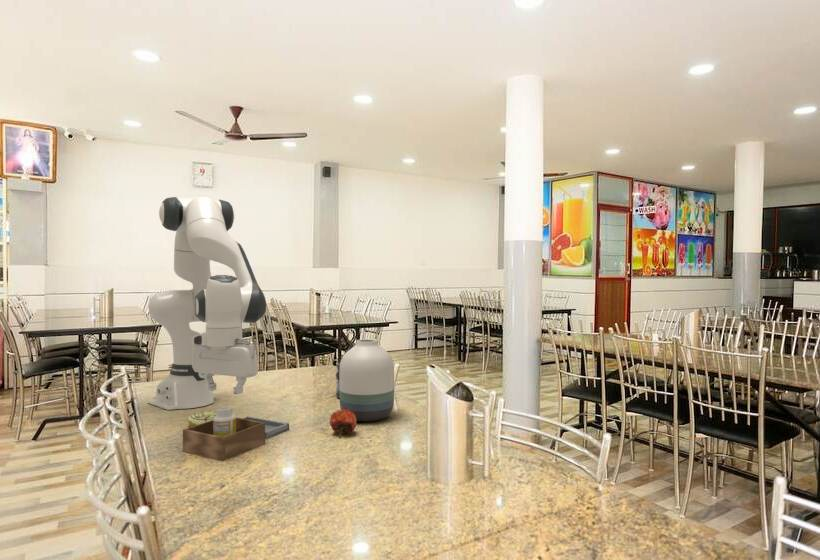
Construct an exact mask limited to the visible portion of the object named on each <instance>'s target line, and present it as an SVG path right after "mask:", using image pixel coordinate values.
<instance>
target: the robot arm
mask: <svg viewBox="0 0 820 560" xmlns="http://www.w3.org/2000/svg"><path fill="white" fill-rule="evenodd" d="M158 216H159V220H160V222H161V225H162V227H164V229H166V230H168V231H173V232H175V237H174V245H173V246H174V250H173V251H174V253H173V254H174V255H173V270H174V273H175V275H176V276H178V277H179V278H180V279H182V280H185V281H187V282H189V283H191V284H192V289H176V290H175V289H174V290H163V291H160V292H156V293H154V294H153V295H152V297H151V298H150V299H149V301H148V312H149V315H150V317H151V318H152V319H153V320H154V321H155V322H156V323H158V324H160V325H161V326H162V327H163V328H164V329H165V330H166V331H167V333H168V334H169V336H170V340H171V342H172V355H173V362H172V364H168V365H167V366H169V367H168V369H170V370H169V374H168V375H167V376H166V377H165V378H164V379H163V380H162V381H160V382H159V383H158V384H157V386H156V389H155V397H152V398H150V399H148V400H147V401H148V404H150V405H153V406H154V407H155V406H156V407H158V408H161V409H164V410H168V411H172V410H184V409H193V408H201V407H205V406H209V405H211V404H213V403H214V402H215V394H214V393H213V391H216V390H217V382H215V381H214V378H213V377H214V376H215V375H219V376H228V377H235V379H236V380H235V381H236V382H237V383H236V385H235V386H233V394H234V395H241V394H243V393H244V387H245V386H244V385H245V383H246V382H247V379H248V378H252V377H256V376H257V374H258V372H259V363H258V355H257V351H256V345H255V344H254V343H253V342H252V341H251V340H249V339H243V324H242V323H247V324H255V323H257V322H258V321H260V319H261V318H263V316H264V315H265V314H266V312H267V301H266V297H265V294H264V292H263V290H262V289H261V287H260V285H259V283H258V282H257V279H256V276H255V274H254V271H253V269H252V266H251V264H250V262H249V259H248V256H247V254H246V253H245V250H244V248H243V246H242V244H240V243H239V242H237V241H235V240H234V239H233V237H231V235H230V234H229V232H228V231H229V230H230V229H231V228H232V227H233V224H234V221H235V211H234V209H233V205H232V204H231V202H229V201H227V200H223V199H214V198H212V197H210V196H197V197H177V196H173V197H172V196H171V197H166V198H165V199H163V201H162V203H161V205H160V207H159V212H158ZM211 261H213V262H215V263H216V262H217V263H219V264H222V265H224V266H226V267H228V268H230V269H231V270H232V271H233V272H234V274H235V276H234V275H227V274H217V275H212V273H211V263H210V262H211ZM192 322H193V323H194V322H198V323H199V322H202V323H206V324H205V331H204V332H201V333H200V332H198V331H195V330H193V329H192V328H191V326H190V323H192Z"/></svg>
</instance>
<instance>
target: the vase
mask: <svg viewBox="0 0 820 560" xmlns="http://www.w3.org/2000/svg"><path fill="white" fill-rule="evenodd" d="M339 363H340V369H339V393H340V399H339V407H340V410H342V409H345V408H346V409H348V410H349V411H352V412H353V413H354V414H355V417H356V422H375V421H380V420H383V419H385V418H387V417H389V415H390V414H391V413H392V411H393V408H394V405H395V364H394V360H393V358H392V356H391V355H390V353H389V352H388V351H387V350H386V349H385V348H383V347H382V346H380V345H379V343H378V340H377V339H375V338H374V339H373V338H363V339H357V340H356V342H355V345H354V346H352V347H351V348H350V349H348V350H347V352H346V353H344V354H343V355H342V357H341V359H340V362H339Z"/></svg>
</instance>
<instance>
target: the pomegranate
mask: <svg viewBox="0 0 820 560" xmlns="http://www.w3.org/2000/svg"><path fill="white" fill-rule="evenodd" d="M329 426H330V427H331V428H332V431H333V432H334V433H335V434H339V440H340V439H341V436H342V434H351V433H353V432H354V431H355V429H356V426H357V421H356V417H355V414H354V413H353V412H352V411H349V410H348V409H346V408H345V409H342V410H341V409H339V410H336V411H333V412H332V413H331V415H330V418H329Z"/></svg>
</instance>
